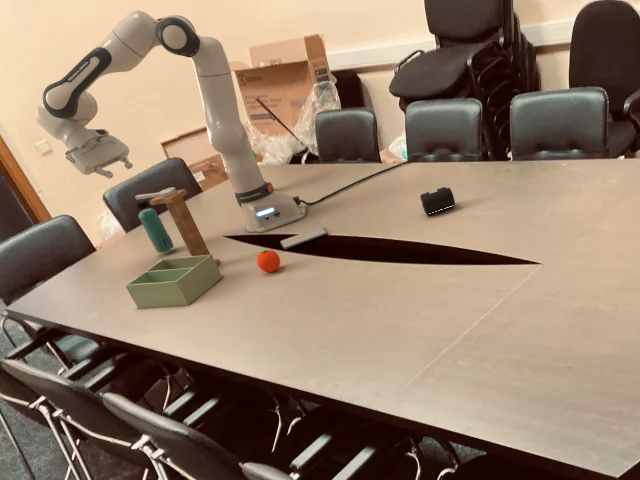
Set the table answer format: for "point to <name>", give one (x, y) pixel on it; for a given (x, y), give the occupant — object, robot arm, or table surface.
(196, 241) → the oak stand
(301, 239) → the smartphone
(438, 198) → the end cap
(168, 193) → the spoon
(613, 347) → the table surface
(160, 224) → the beverage bottle
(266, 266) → the clementine
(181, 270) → the cutlery tray
